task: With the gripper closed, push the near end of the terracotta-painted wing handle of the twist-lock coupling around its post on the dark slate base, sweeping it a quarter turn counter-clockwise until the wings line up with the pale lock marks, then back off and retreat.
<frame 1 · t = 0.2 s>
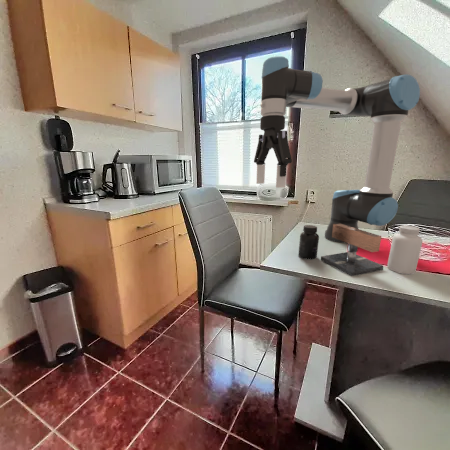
hand: (269, 185, 81), 28 cm above the table, fingers open, 13 cm apart
supplement bottle: (307, 256, 95), on the table
coupling: (353, 240, 85), point 9 cm above the table, hinge at 0.0°
post base: (350, 264, 87), on the table
pill bottle: (400, 270, 84), on the table
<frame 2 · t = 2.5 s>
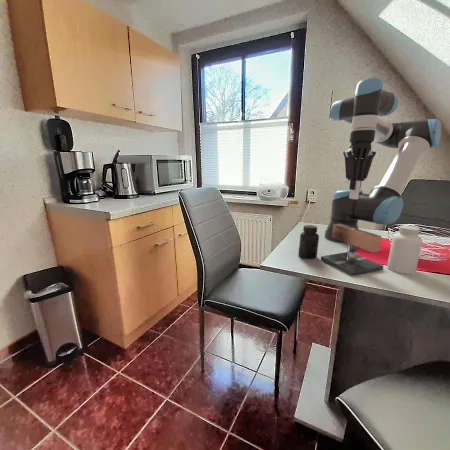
hand: (353, 198, 90), 22 cm above the table, fingers closed
nothing on the table moved.
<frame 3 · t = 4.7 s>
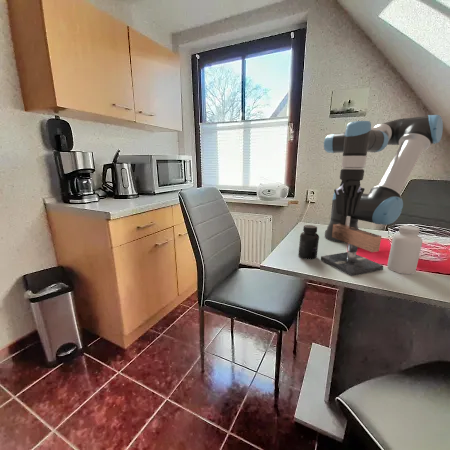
hand: (343, 232, 92), 10 cm above the table, fingers closed
coupling: (353, 240, 85), point 9 cm above the table, hinge at 0.0°, touching gripper
everything else where it was.
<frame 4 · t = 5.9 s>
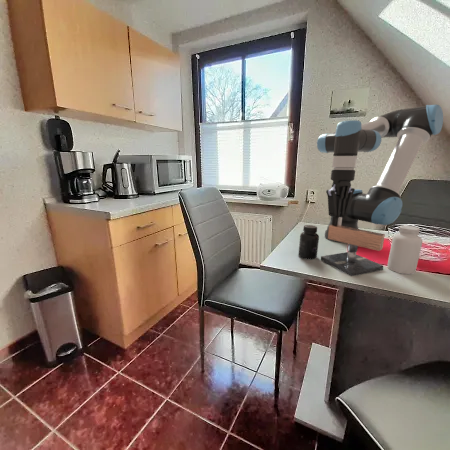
hand: (335, 234, 91), 9 cm above the table, fingers closed
coupling: (353, 240, 85), point 9 cm above the table, hinge at 21.2°, touching gripper
everything else where it was.
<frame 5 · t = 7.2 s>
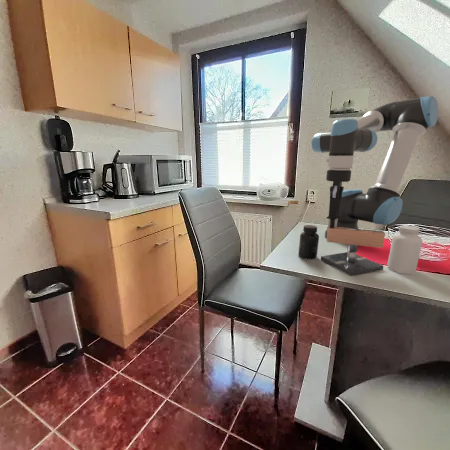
hand: (331, 235, 89), 9 cm above the table, fingers closed
coupling: (353, 240, 85), point 9 cm above the table, hinge at 48.5°, touching gripper
everything else where it was.
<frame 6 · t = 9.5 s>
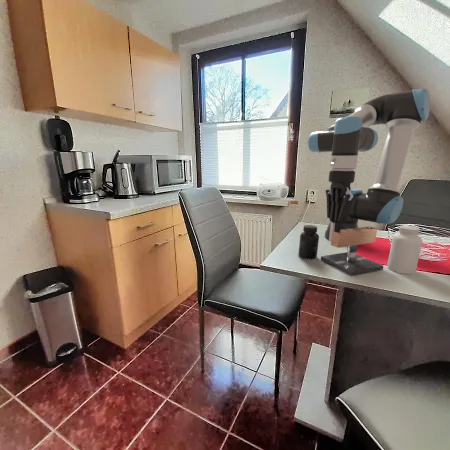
hand: (333, 240, 84), 9 cm above the table, fingers closed
coupling: (353, 240, 85), point 9 cm above the table, hinge at 90.3°, touching gripper
everything else where it was.
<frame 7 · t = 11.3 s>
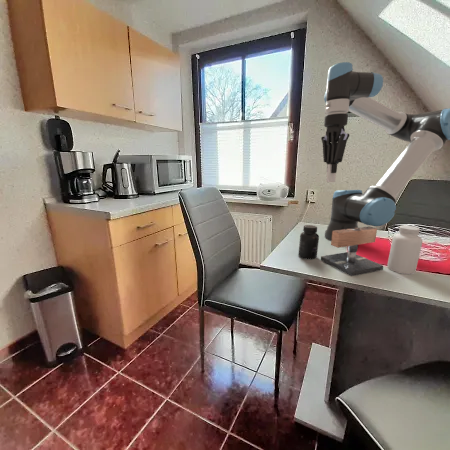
hand: (330, 181, 93), 28 cm above the table, fingers closed
coupling: (353, 240, 85), point 9 cm above the table, hinge at 90.4°
everything else where it was.
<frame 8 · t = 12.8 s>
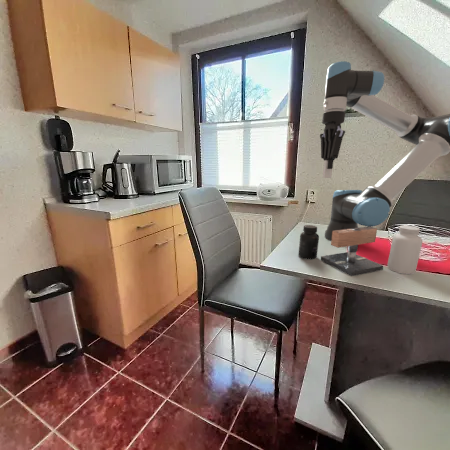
hand: (327, 177, 95), 29 cm above the table, fingers closed
nothing on the table moved.
at the end: coupling at +90° (first picture: +0°); the gripper is holding nothing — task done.
